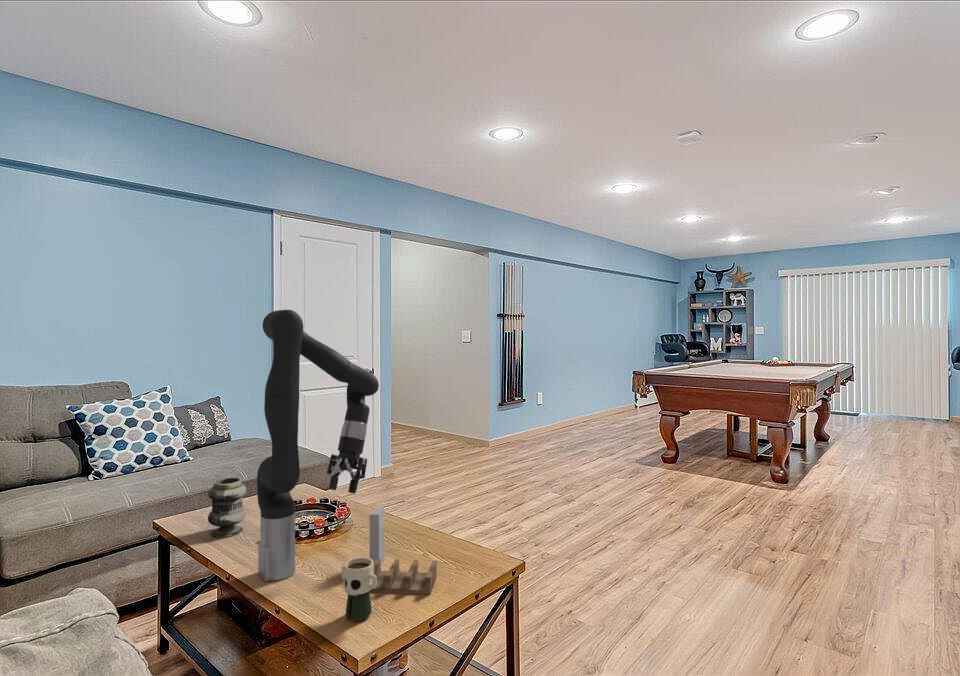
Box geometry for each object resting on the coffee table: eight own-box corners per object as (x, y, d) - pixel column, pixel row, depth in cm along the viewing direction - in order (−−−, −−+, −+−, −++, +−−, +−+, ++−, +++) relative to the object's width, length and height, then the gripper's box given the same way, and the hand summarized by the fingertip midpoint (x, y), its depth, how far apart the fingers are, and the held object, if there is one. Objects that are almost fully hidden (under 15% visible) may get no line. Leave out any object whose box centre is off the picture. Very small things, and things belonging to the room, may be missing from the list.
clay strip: (378, 569, 152) (378, 514, 152) (369, 569, 152) (369, 514, 152) (384, 560, 158) (384, 507, 158) (375, 560, 158) (375, 507, 158)
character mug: (331, 616, 127) (331, 563, 127) (352, 603, 133) (352, 552, 133) (365, 629, 122) (366, 574, 121) (385, 615, 128) (385, 562, 128)
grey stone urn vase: (222, 541, 172) (222, 487, 171) (199, 534, 177) (199, 481, 177) (254, 529, 182) (254, 478, 182) (232, 523, 188) (231, 473, 188)
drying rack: (430, 594, 138) (430, 577, 138) (366, 591, 139) (366, 574, 139) (436, 576, 148) (436, 560, 148) (376, 574, 149) (376, 558, 149)
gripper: (328, 434, 162) (316, 487, 158) (359, 436, 154) (348, 493, 150) (346, 437, 168) (335, 489, 164) (377, 440, 160) (367, 495, 155)
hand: (342, 491), depth 157 cm, fingers open, 8 cm apart
